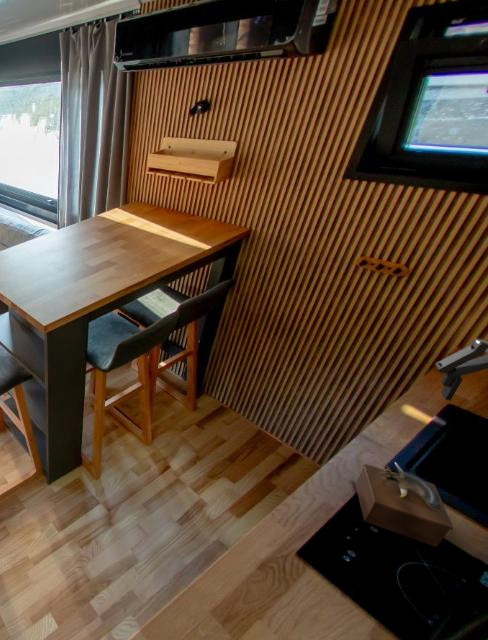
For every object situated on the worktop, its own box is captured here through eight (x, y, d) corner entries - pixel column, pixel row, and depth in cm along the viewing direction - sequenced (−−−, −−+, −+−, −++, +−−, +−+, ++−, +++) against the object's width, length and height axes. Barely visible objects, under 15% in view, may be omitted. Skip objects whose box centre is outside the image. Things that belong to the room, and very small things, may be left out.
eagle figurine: (374, 488, 85) (437, 515, 77) (382, 459, 85) (446, 483, 77) (383, 486, 89) (443, 511, 81) (390, 459, 88) (452, 481, 81)
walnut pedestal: (421, 504, 88) (434, 484, 85) (438, 548, 80) (453, 528, 77) (353, 483, 95) (363, 463, 91) (363, 521, 87) (374, 501, 84)
